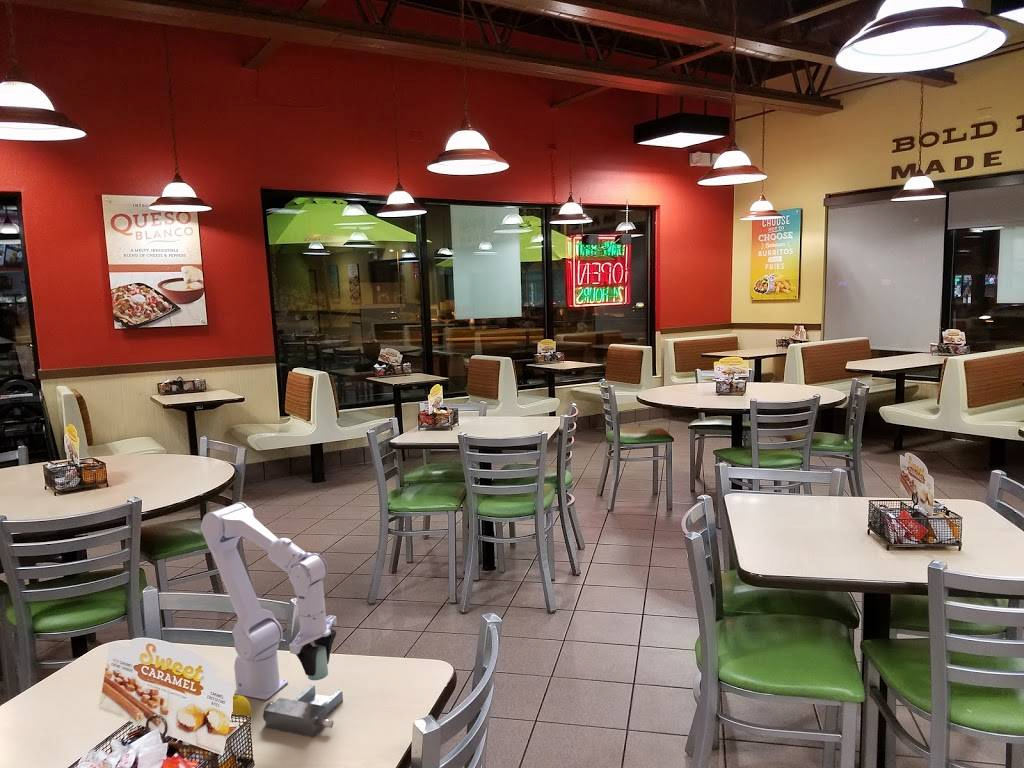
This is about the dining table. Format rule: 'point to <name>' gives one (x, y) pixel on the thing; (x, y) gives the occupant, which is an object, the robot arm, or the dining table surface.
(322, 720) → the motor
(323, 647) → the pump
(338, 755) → the dining table surface
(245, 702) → the lemon
